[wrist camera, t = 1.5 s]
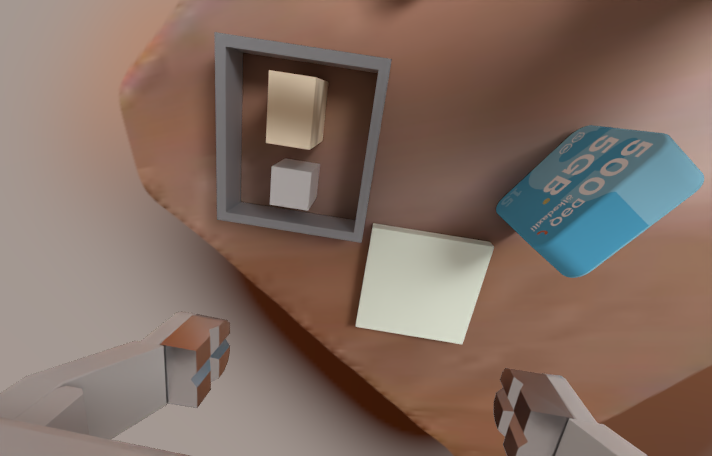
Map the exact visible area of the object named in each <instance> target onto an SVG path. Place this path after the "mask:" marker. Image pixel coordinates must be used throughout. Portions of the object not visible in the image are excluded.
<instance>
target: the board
mask: <svg viewBox="0 0 712 456" xmlns="http://www.w3.org/2000/svg"><path fill="white" fill-rule="evenodd" d="M493 249H494V246H493V245H492V243H491V242H488V241H482V240H476V239H470V238H463V237H457V236H451V235H445V234H438V233H432V232H426V231H420V230H413V229H407V228H401V227H395V226H388V225H382V224H376V223H373V226H372V232H371V238H370V244H369V249H368V255H367V261H366V267H365V272H364V278H363V284H362V290H361V295H360V301H359V307H358V313H357V318H356V327H360V328H366V329H372V330H379V331H385V332H391V333H397V334H403V335H409V336H415V337H421V338H427V339H433V340H439V341H445V342H451V343H457V344H463V341H464V338H465V335H466V332H467V328H468V325H469V322H470V319H471V316H472V313H473V310H474V307H475V304H476V301H477V298H478V295H479V292H480V289H481V286H482V283H483V280H484V277H485V274H486V271H487V268H488V265H489V262H490V258H491V255H492V252H493Z"/></svg>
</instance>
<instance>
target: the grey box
mask: <svg viewBox="0 0 712 456" xmlns="http://www.w3.org/2000/svg"><path fill="white" fill-rule="evenodd" d="M319 171H320V164H319V163H312V162H306V161H300V160H293V159H287V158H285V159H283V160H281V161H280V162H278V163H276V164H275V165H273V166H272V169H271V189H270V205H275V206H282V207H288V208H294V209H300V210H307V211H308V210H309V208H310V207H311V205H312V204H313V202H314V201H315V199H316V198H317V190H318V180H319Z"/></svg>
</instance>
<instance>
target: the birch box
mask: <svg viewBox="0 0 712 456" xmlns="http://www.w3.org/2000/svg"><path fill="white" fill-rule="evenodd" d="M328 83H329V82H327V81H325V80H322V79H319V78H317V77H311V76H304V75H298V74H291V73H285V72H278V71H272V70H269V79H268V103H267V128H266V143H269V144H276V145H282V146H288V147H295V148H301V149H308V150H310V149H312V148H313V147H315V146H316V145H318V144H319V143H321V142H322V141H323V132H324V122H325V112H326V103H327V93H328Z"/></svg>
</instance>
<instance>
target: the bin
mask: <svg viewBox="0 0 712 456" xmlns="http://www.w3.org/2000/svg"><path fill="white" fill-rule="evenodd" d="M243 53H249V54H255V55H262V56H268V57H275V58H281V59H288V60H294V61H301V62H308V63H314V64H321V65H327V66H334V67H340V68H347V69H353V70H360V71H367V72H373V73H378V77H377V84H376V90H375V97H374V104H373V110H372V117H371V123H370V130H369V136H368V143H367V150H366V156H365V163H364V169H363V176H362V182H361V189H360V196H359V202H358V209H357V215H356V220H351V219H344V218H338V217H332V216H326V215H319V214H313V213H307V212H301V211H294V210H288V209H282V208H276V207H269V206H263V205H257V204H251V203H244V202H241V153H242V85H243ZM391 60H392V59H388V58H381V57H375V56H368V55H361V54H355V53H348V52H342V51H335V50H328V49H322V48H315V47H309V46H302V45H296V44H289V43H282V42H276V41H269V40H263V39H256V38H249V37H243V36H236V35H230V34H223V33H217V32H215V101H216V176H217V220H223V221H229V222H236V223H242V224H248V225H254V226H260V227H267V228H273V229H279V230H285V231H291V232H298V233H304V234H310V235H316V236H322V237H329V238H335V239H341V240H347V241H354V242H360V243H362V237H363V231H364V225H365V219H366V213H367V207H368V201H369V195H370V189H371V182H372V176H373V170H374V164H375V158H376V152H377V146H378V140H379V134H380V127H381V121H382V115H383V109H384V103H385V97H386V91H387V85H388V79H389V73H390V66H391Z"/></svg>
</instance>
